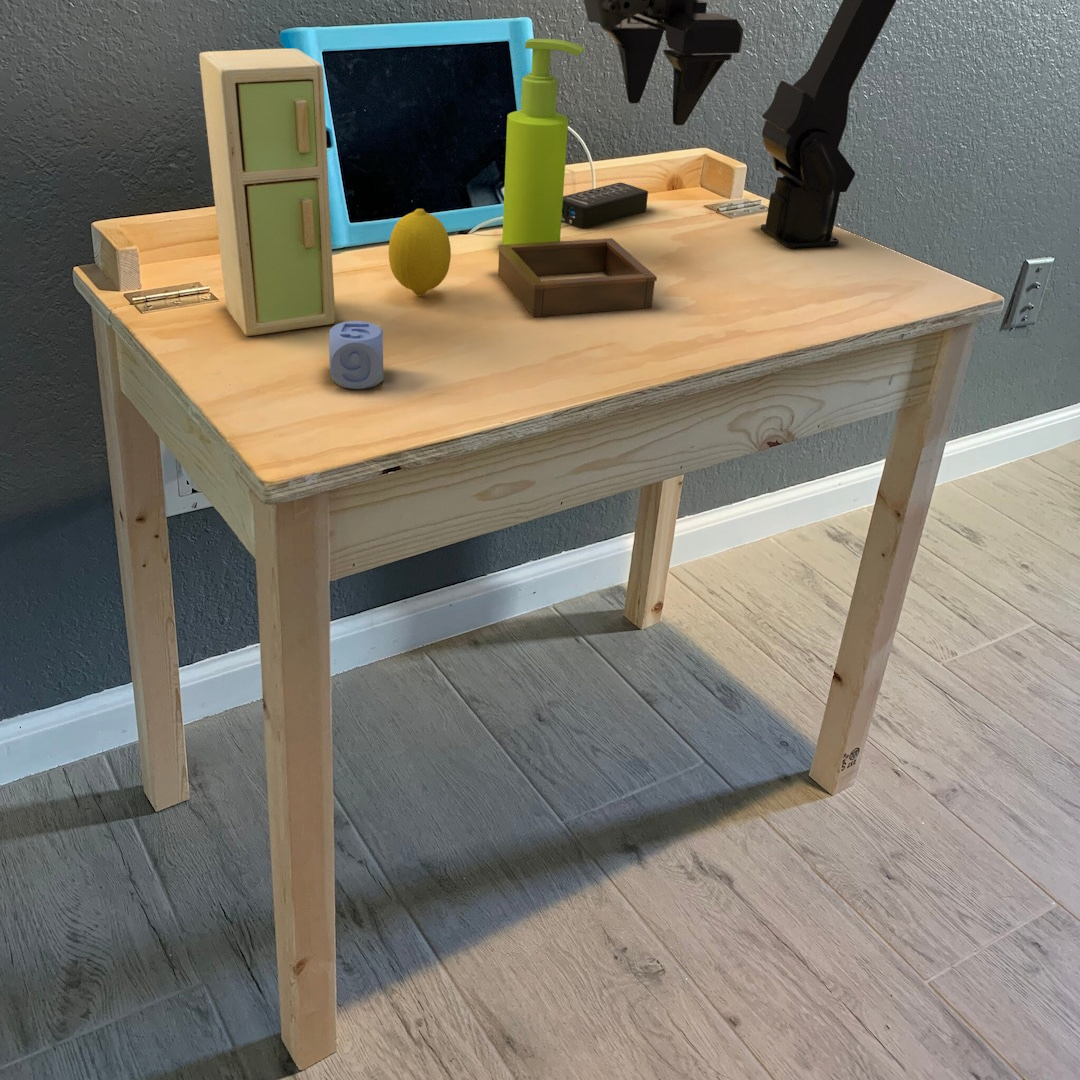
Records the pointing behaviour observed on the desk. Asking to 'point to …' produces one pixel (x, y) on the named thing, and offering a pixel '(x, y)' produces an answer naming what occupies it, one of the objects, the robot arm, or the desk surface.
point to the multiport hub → (603, 205)
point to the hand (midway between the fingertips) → (655, 113)
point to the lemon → (419, 252)
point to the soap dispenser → (536, 153)
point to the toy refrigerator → (270, 186)
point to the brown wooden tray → (581, 295)
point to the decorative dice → (356, 354)
